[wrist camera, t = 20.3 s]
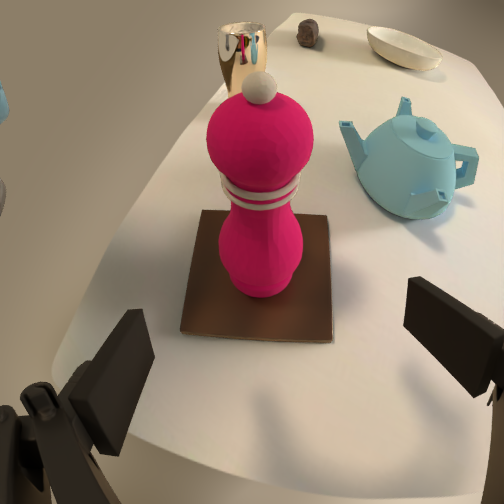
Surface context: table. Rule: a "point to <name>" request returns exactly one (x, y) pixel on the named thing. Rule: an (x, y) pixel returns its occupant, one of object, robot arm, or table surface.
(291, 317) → the walnut board
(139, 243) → the table surface
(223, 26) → the beer glass
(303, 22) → the perforated stone tool
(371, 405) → the table surface
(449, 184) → the teapot
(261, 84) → the pepper mill
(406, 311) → the robot arm
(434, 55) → the serving bowl
